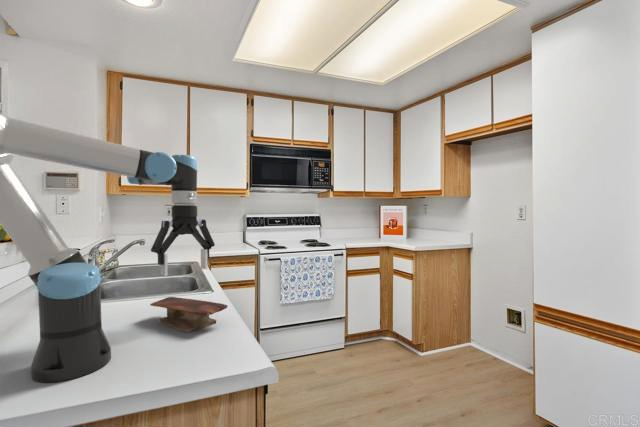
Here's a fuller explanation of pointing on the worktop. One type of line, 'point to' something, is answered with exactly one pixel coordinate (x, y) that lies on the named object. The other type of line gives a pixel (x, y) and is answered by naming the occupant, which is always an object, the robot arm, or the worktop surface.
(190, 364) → the worktop surface
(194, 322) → the walnut stand
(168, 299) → the wooden tablet
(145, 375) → the worktop surface
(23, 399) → the worktop surface
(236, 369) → the worktop surface
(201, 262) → the robot arm
